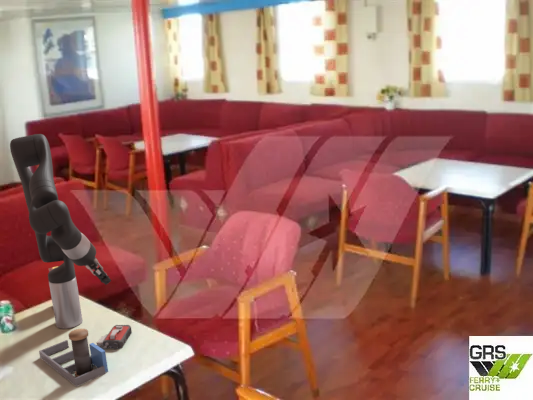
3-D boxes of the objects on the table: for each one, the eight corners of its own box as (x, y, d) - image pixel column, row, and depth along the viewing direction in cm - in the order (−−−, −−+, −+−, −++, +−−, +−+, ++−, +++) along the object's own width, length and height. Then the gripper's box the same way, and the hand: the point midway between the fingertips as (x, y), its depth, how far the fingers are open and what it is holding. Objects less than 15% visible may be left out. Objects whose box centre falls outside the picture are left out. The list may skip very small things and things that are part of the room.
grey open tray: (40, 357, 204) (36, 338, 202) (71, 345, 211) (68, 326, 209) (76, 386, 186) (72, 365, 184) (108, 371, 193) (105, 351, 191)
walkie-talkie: (109, 331, 220) (88, 361, 200) (107, 320, 218) (86, 348, 199) (134, 331, 219) (115, 361, 199) (132, 319, 217) (113, 348, 198)
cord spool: (71, 375, 192) (65, 333, 188) (88, 367, 196) (82, 326, 192) (80, 381, 188) (73, 339, 184) (97, 374, 192) (91, 332, 188)
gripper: (99, 253, 181) (122, 279, 194) (77, 225, 189) (100, 252, 202) (78, 270, 179) (102, 296, 192) (56, 241, 187) (81, 267, 200)
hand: (101, 273), depth 197 cm, fingers open, 8 cm apart
